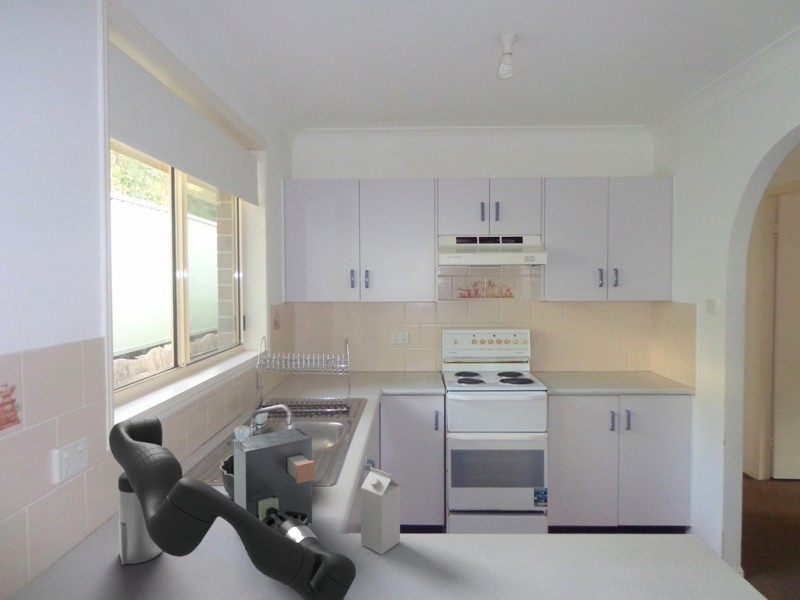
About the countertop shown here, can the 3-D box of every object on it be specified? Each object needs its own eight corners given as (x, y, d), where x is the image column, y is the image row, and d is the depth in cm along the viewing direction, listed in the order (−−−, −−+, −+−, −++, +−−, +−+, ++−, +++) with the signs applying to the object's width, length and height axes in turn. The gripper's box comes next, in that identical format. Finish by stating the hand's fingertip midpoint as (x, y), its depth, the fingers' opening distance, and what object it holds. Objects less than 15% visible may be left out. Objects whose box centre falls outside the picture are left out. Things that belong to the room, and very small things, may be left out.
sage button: (260, 522, 118) (260, 504, 118) (249, 507, 126) (248, 491, 125) (278, 517, 121) (278, 499, 121) (266, 503, 128) (265, 486, 128)
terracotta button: (297, 483, 119) (297, 465, 119) (283, 471, 126) (283, 454, 126) (314, 479, 122) (314, 461, 121) (299, 467, 129) (299, 450, 129)
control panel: (246, 544, 120) (245, 451, 118) (234, 527, 128) (233, 440, 126) (312, 523, 130) (311, 437, 129) (297, 508, 138) (296, 427, 137)
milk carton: (379, 533, 125) (379, 462, 124) (400, 542, 121) (400, 470, 120) (360, 544, 120) (360, 471, 119) (381, 555, 115) (382, 479, 114)
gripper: (324, 518, 109) (294, 490, 123) (268, 536, 101) (243, 504, 115) (324, 549, 109) (294, 518, 124) (268, 570, 102) (243, 533, 116)
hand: (269, 511), depth 119 cm, fingers closed
